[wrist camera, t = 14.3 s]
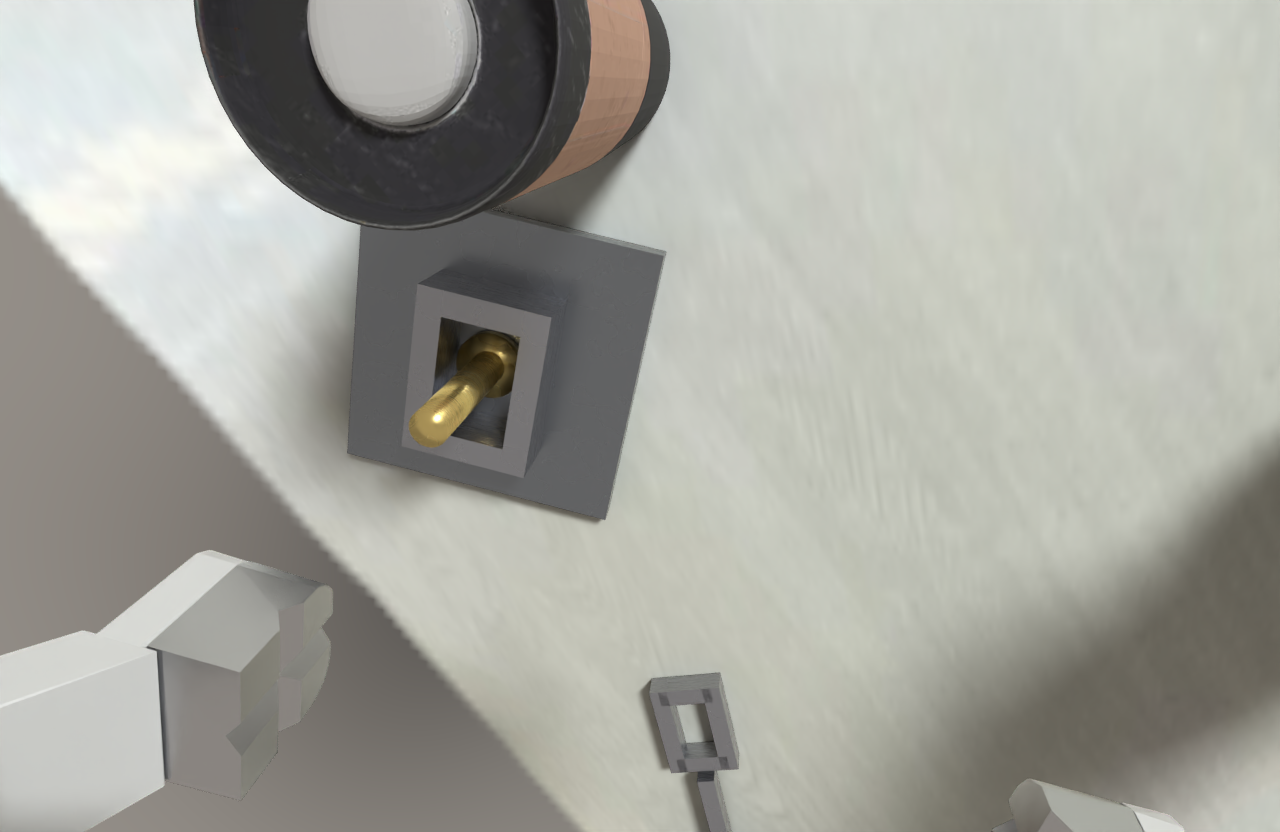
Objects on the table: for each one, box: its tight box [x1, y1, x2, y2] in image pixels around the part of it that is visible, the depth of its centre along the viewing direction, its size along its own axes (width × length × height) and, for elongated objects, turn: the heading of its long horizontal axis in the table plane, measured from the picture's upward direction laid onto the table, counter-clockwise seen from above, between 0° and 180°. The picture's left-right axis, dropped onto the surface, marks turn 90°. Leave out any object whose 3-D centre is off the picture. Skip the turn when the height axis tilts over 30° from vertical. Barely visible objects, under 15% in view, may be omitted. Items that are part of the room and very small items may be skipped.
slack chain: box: [649, 673, 739, 832], centre depth 46 cm, size 5×17×4 cm, turn 13°
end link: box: [402, 269, 567, 478], centre depth 37 cm, size 6×8×3 cm
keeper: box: [347, 209, 666, 520], centre depth 35 cm, size 14×14×9 cm
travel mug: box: [194, 0, 670, 231], centre depth 24 cm, size 8×8×20 cm
